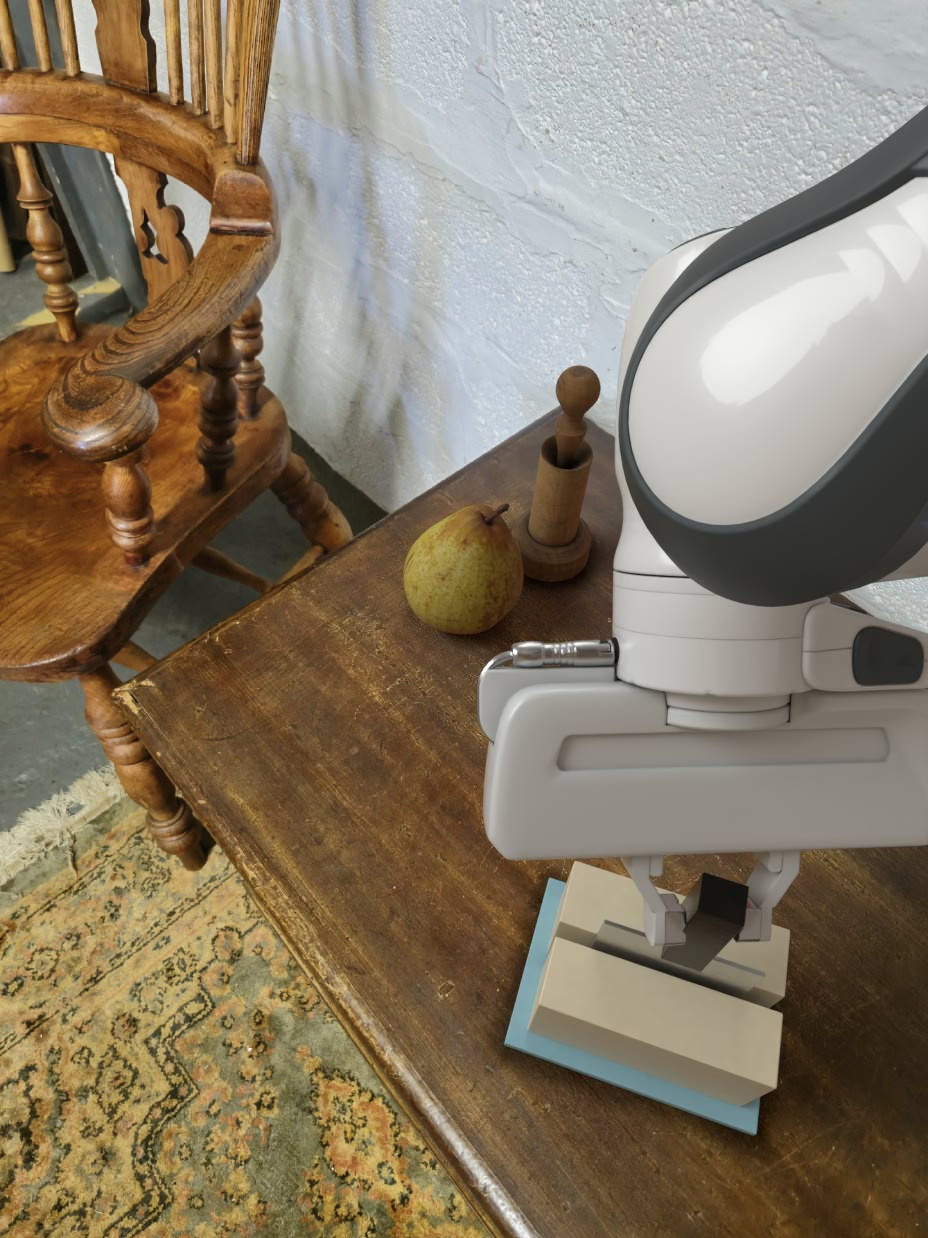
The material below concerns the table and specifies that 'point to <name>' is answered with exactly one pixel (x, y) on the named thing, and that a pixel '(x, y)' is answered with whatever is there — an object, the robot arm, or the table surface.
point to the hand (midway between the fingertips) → (706, 938)
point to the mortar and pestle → (561, 487)
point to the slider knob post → (693, 939)
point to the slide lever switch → (647, 1008)
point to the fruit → (464, 571)
